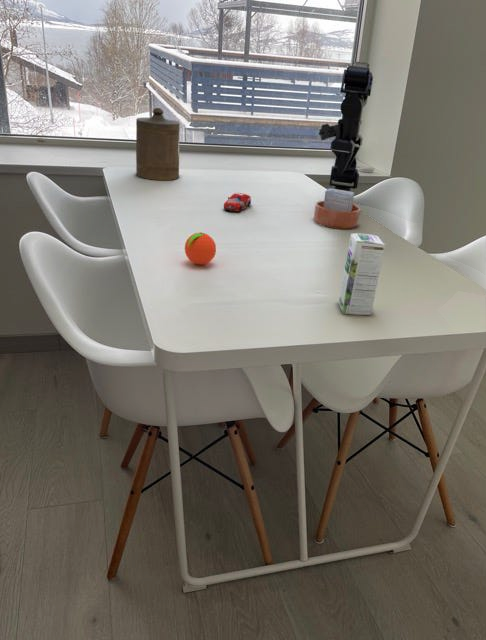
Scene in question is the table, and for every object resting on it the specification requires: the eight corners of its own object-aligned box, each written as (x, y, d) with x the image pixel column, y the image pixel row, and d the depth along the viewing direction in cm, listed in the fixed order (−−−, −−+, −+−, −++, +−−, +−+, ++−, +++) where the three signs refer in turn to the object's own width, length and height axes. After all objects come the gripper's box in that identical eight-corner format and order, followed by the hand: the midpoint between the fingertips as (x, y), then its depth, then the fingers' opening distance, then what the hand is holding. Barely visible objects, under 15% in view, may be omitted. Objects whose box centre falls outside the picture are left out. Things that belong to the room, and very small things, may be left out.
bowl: (318, 214, 180) (321, 198, 178) (360, 221, 177) (363, 205, 175) (309, 224, 169) (311, 207, 166) (353, 232, 166) (356, 214, 164)
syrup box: (337, 303, 118) (349, 232, 111) (365, 304, 119) (379, 234, 112) (342, 314, 113) (355, 241, 106) (372, 316, 114) (386, 243, 107)
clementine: (199, 272, 126) (200, 240, 122) (174, 264, 129) (175, 232, 125) (221, 264, 132) (223, 233, 128) (197, 256, 135) (198, 226, 131)
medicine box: (350, 221, 174) (355, 192, 170) (347, 225, 170) (351, 194, 166) (324, 217, 176) (329, 187, 171) (321, 220, 172) (325, 190, 168)
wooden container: (187, 177, 209) (188, 110, 198) (159, 182, 198) (159, 111, 187) (156, 169, 215) (156, 104, 204) (127, 174, 204) (125, 105, 193)
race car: (237, 214, 171) (238, 200, 169) (220, 211, 173) (221, 197, 171) (253, 205, 182) (254, 192, 180) (237, 202, 184) (238, 189, 182)
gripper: (330, 110, 175) (323, 164, 183) (316, 114, 160) (309, 173, 167) (366, 115, 173) (357, 169, 181) (356, 119, 157) (347, 179, 165)
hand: (342, 173), depth 174 cm, fingers open, 9 cm apart
